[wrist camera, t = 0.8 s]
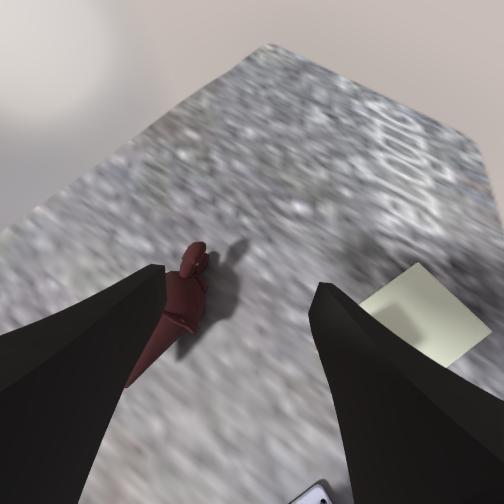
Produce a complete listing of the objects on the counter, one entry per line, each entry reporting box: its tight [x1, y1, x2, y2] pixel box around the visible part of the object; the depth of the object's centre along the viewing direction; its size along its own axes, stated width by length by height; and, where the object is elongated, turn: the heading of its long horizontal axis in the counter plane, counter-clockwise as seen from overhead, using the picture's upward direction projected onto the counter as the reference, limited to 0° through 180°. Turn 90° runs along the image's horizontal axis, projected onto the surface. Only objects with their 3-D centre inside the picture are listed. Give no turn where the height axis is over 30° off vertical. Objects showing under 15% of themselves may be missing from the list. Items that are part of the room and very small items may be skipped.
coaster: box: [358, 262, 493, 368], centre depth 20 cm, size 8×8×1 cm
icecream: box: [124, 242, 209, 388], centre depth 21 cm, size 7×7×15 cm
